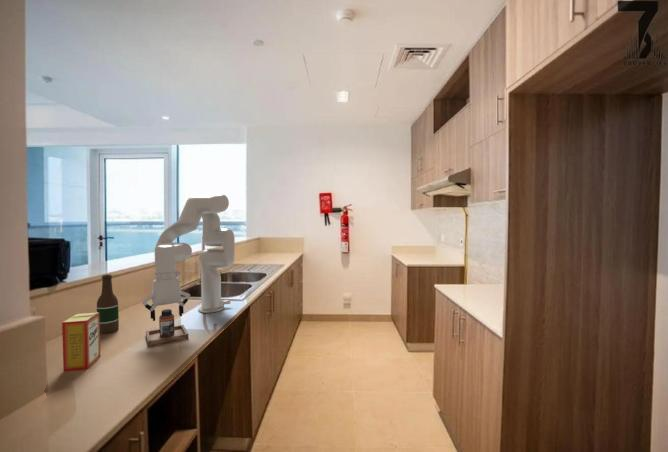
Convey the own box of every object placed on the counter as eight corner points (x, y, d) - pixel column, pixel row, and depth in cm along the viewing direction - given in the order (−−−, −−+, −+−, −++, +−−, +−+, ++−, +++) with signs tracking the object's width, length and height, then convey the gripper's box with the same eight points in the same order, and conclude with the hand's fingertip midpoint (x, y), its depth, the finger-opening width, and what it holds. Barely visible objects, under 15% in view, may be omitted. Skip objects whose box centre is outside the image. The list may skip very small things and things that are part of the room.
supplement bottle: (163, 333, 132) (162, 308, 131) (176, 332, 132) (176, 308, 132) (157, 338, 126) (156, 312, 126) (171, 337, 127) (170, 312, 127)
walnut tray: (183, 329, 138) (183, 324, 138) (188, 338, 128) (188, 333, 128) (145, 335, 131) (145, 331, 131) (148, 346, 120) (148, 341, 120)
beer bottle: (123, 329, 138) (121, 274, 137) (103, 335, 131) (102, 277, 130) (112, 326, 142) (110, 272, 141) (92, 332, 134) (91, 275, 134)
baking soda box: (87, 368, 103) (86, 319, 102) (63, 371, 101) (62, 321, 100) (100, 356, 112) (99, 311, 111) (78, 358, 110) (77, 312, 110)
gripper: (187, 271, 136) (189, 311, 137) (140, 276, 127) (142, 319, 128) (191, 274, 130) (192, 316, 131) (141, 280, 121) (143, 324, 122)
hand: (167, 317), depth 129 cm, fingers open, 9 cm apart
